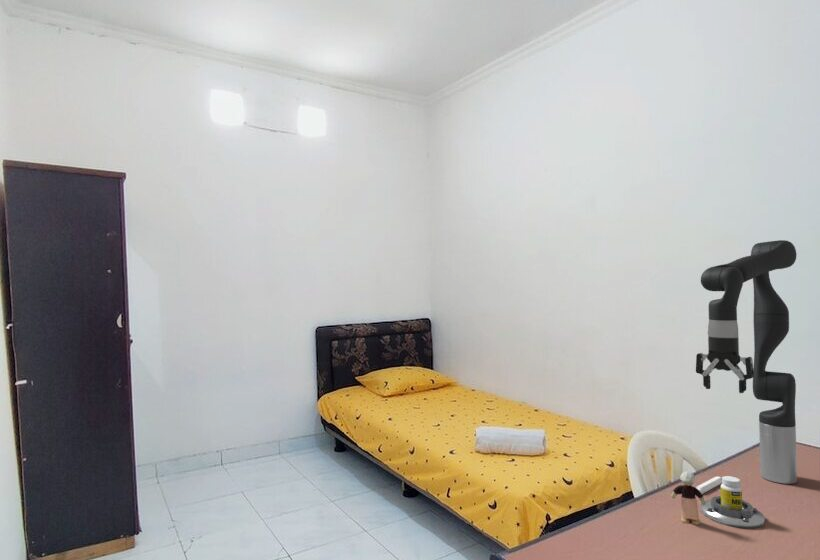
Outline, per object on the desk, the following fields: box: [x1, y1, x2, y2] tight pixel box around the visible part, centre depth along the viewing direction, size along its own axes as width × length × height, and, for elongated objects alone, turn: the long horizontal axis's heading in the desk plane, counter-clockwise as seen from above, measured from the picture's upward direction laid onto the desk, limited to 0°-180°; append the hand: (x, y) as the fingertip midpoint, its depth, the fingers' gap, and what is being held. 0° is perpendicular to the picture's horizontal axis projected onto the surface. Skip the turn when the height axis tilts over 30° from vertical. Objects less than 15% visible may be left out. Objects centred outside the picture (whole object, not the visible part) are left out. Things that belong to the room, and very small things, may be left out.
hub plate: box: [700, 495, 765, 529], centre depth 130 cm, size 14×14×3 cm
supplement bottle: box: [720, 475, 743, 509], centre depth 130 cm, size 5×5×8 cm
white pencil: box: [695, 475, 723, 495], centre depth 147 cm, size 3×2×16 cm
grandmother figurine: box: [670, 470, 706, 525], centre depth 127 cm, size 8×4×13 cm, turn 71°
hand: (724, 390), depth 144 cm, fingers open, 8 cm apart
